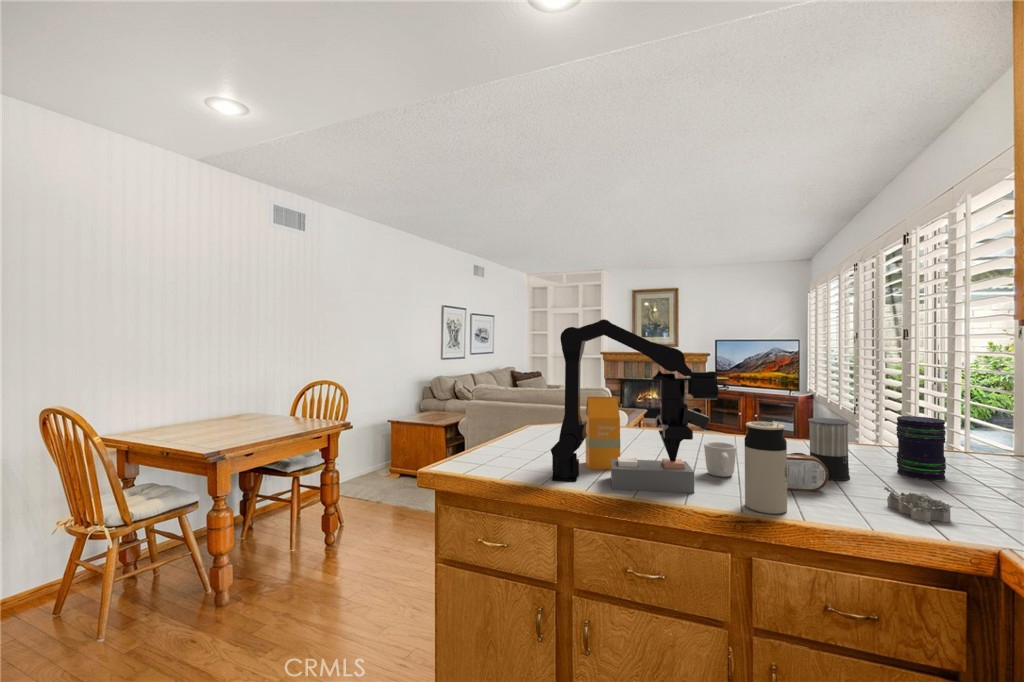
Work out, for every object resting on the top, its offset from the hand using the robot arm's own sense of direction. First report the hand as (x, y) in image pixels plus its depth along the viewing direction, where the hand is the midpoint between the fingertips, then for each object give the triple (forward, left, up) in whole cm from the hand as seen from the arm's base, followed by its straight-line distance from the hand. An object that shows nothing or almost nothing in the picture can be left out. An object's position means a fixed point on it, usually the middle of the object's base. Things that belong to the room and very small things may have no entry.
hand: (672, 461), depth 117 cm
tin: (+28, +2, -6) cm, 29 cm away
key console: (-5, 0, -6) cm, 8 cm away
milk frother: (+40, +19, -6) cm, 45 cm away
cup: (+14, +11, -6) cm, 19 cm away
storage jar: (+66, +20, -6) cm, 69 cm away
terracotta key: (0, 0, -4) cm, 4 cm away
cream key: (-11, 0, -4) cm, 12 cm away
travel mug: (+17, -13, -6) cm, 22 cm away
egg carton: (+47, -11, -7) cm, 49 cm away
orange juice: (-17, +17, -6) cm, 25 cm away
